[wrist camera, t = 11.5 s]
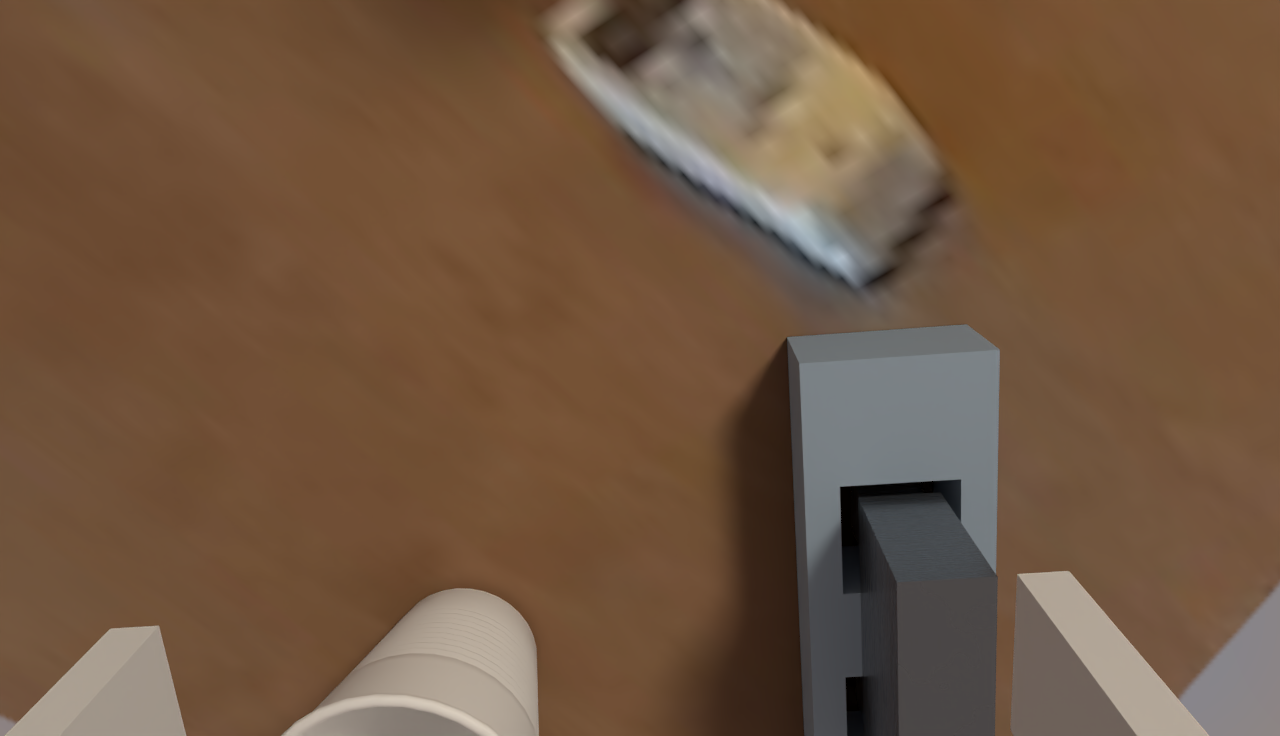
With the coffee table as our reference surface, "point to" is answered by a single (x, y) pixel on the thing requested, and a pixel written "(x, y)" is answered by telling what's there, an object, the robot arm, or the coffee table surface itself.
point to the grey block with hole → (880, 472)
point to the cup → (439, 675)
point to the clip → (922, 617)
